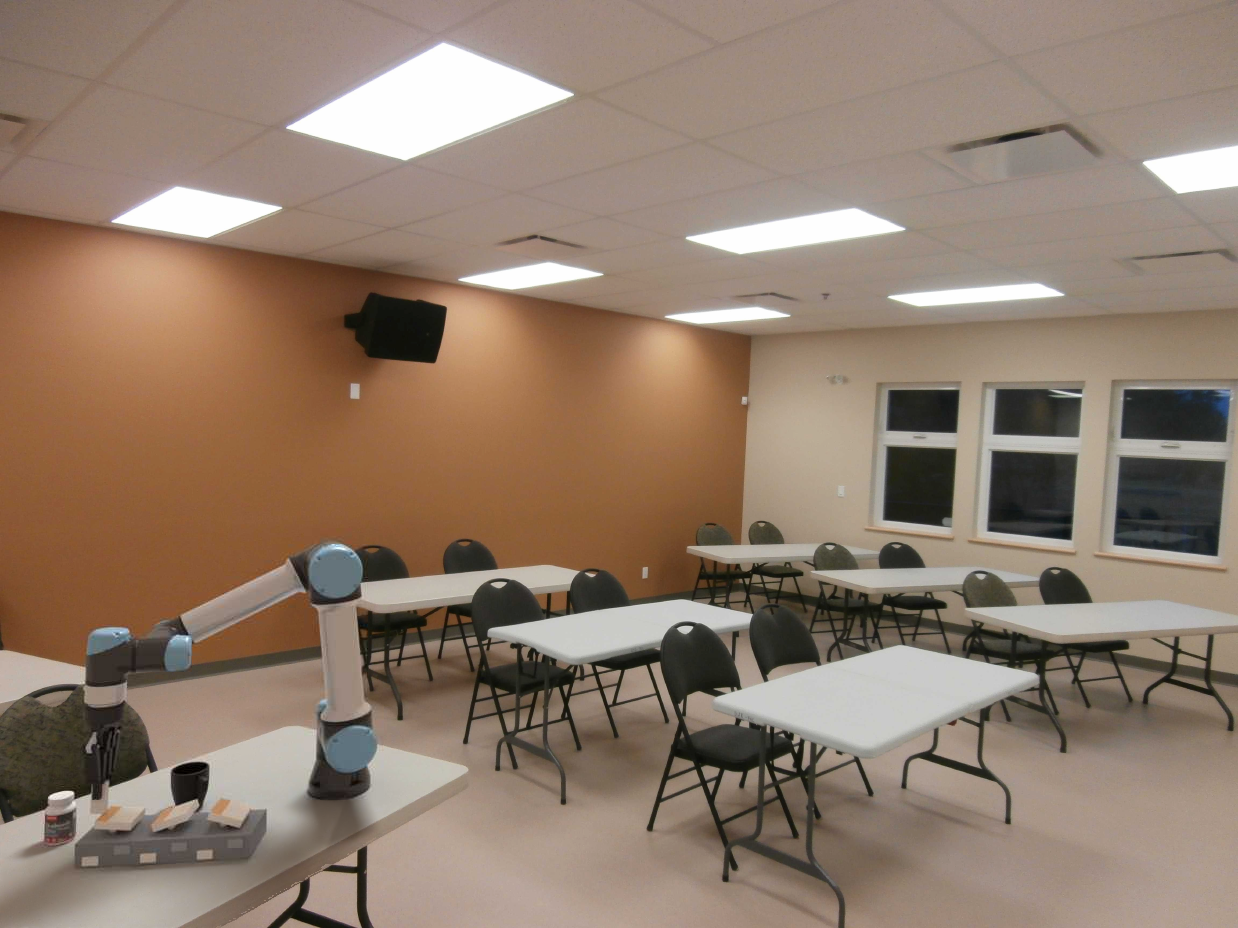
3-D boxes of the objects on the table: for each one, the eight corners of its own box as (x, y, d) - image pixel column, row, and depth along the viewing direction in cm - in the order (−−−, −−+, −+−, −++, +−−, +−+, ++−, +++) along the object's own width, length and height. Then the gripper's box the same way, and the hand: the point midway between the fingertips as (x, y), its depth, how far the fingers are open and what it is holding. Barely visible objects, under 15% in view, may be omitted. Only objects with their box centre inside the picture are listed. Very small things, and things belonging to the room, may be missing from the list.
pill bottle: (41, 848, 168) (42, 802, 168) (46, 836, 173) (47, 792, 173) (74, 842, 171) (74, 797, 171) (78, 831, 176) (78, 787, 176)
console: (266, 830, 178) (266, 806, 178) (250, 858, 166) (250, 832, 166) (102, 839, 172) (103, 814, 172) (73, 869, 160) (74, 842, 160)
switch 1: (144, 818, 171) (145, 806, 171) (129, 833, 165) (131, 822, 165) (109, 816, 170) (110, 805, 170) (93, 832, 163) (94, 820, 163)
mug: (185, 823, 181) (186, 782, 180) (164, 807, 188) (164, 768, 188) (222, 811, 187) (222, 771, 187) (200, 796, 195) (200, 758, 194)
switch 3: (248, 816, 175) (252, 805, 175) (238, 831, 168) (242, 819, 168) (216, 807, 174) (220, 797, 174) (205, 822, 167) (209, 811, 167)
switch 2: (200, 808, 173) (196, 798, 173) (188, 823, 166) (184, 812, 166) (168, 820, 172) (164, 809, 172) (154, 835, 165) (150, 824, 165)
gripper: (100, 692, 172) (94, 798, 173) (69, 711, 160) (62, 826, 160) (137, 692, 174) (131, 798, 174) (109, 711, 161) (103, 826, 161)
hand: (98, 811), depth 167 cm, fingers closed
